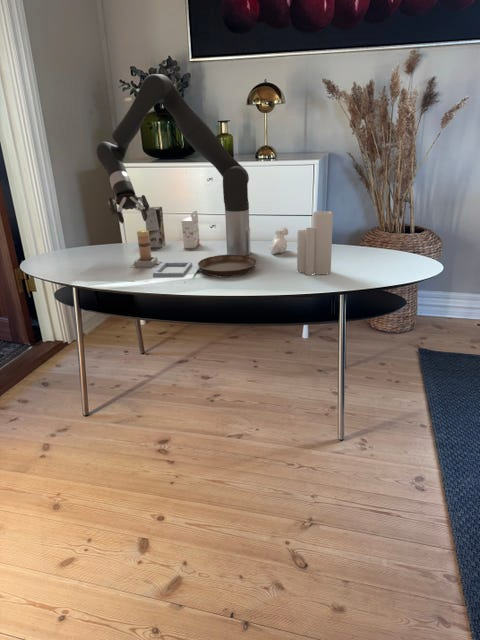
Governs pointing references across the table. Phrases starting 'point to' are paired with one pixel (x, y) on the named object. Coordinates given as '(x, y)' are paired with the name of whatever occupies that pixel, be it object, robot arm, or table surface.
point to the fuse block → (146, 263)
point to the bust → (279, 241)
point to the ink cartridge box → (190, 231)
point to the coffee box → (155, 226)
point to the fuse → (144, 245)
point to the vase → (316, 245)
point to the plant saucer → (227, 265)
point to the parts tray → (172, 274)
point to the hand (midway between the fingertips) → (134, 220)
